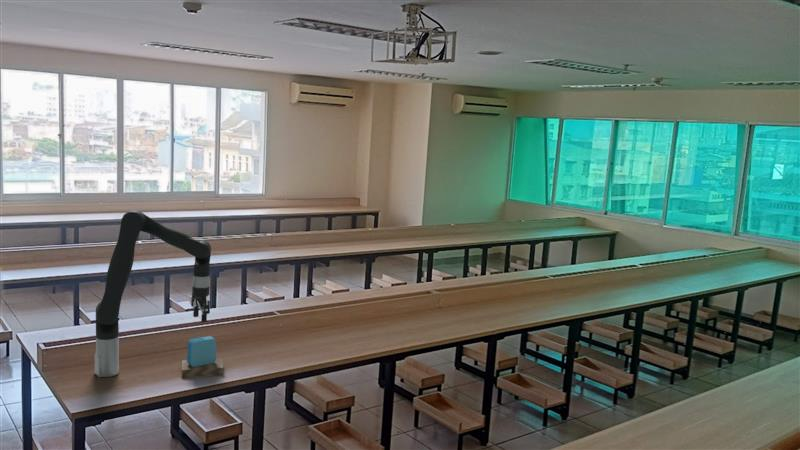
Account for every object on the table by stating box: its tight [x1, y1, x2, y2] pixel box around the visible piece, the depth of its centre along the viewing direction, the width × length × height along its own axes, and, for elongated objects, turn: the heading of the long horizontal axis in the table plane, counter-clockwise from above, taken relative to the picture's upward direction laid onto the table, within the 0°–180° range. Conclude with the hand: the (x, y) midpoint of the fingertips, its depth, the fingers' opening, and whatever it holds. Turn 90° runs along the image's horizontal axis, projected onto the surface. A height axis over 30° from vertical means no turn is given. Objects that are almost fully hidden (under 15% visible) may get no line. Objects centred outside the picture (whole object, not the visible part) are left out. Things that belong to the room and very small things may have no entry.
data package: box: [186, 335, 217, 367], centre depth 299 cm, size 12×4×12 cm, turn 130°
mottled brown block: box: [181, 358, 224, 378], centre depth 300 cm, size 18×12×4 cm, turn 107°
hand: (199, 319), depth 296 cm, fingers open, 8 cm apart
